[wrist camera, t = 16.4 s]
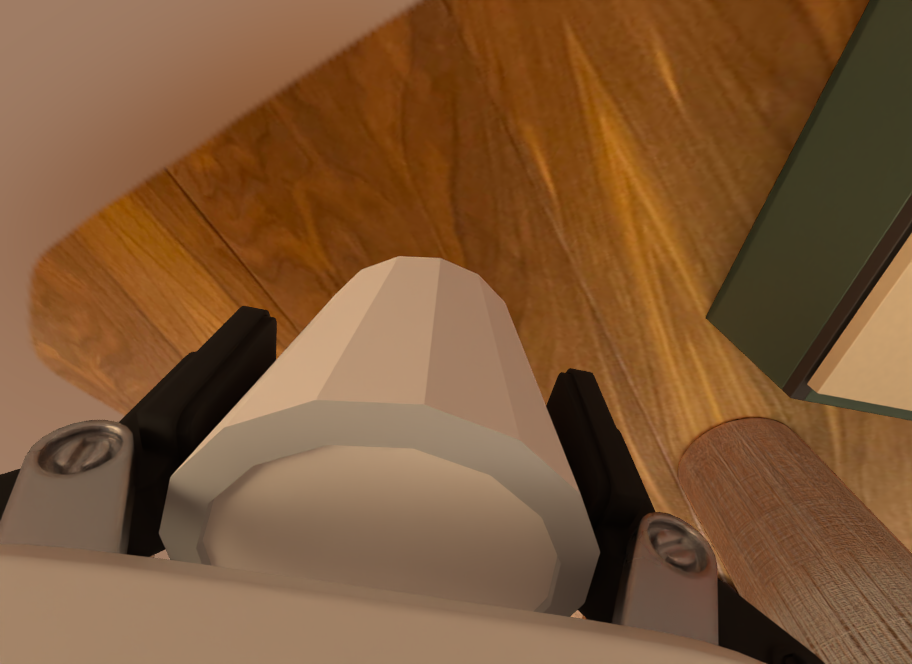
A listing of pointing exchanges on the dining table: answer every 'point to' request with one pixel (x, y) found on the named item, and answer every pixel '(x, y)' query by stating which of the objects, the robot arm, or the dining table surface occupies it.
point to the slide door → (875, 344)
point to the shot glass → (394, 455)
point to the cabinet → (830, 215)
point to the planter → (801, 543)
